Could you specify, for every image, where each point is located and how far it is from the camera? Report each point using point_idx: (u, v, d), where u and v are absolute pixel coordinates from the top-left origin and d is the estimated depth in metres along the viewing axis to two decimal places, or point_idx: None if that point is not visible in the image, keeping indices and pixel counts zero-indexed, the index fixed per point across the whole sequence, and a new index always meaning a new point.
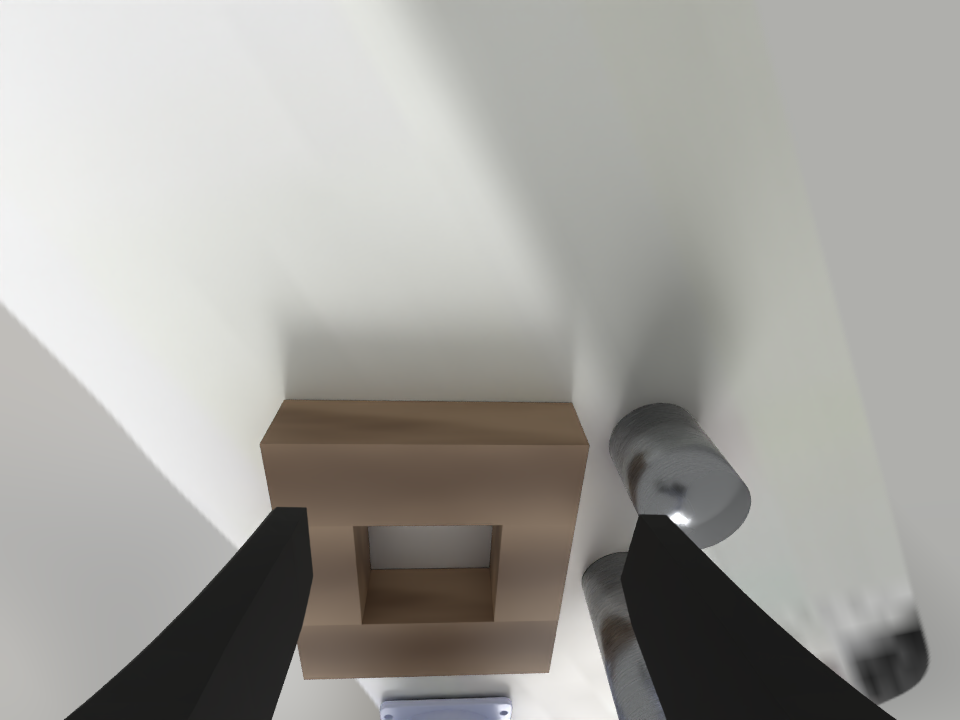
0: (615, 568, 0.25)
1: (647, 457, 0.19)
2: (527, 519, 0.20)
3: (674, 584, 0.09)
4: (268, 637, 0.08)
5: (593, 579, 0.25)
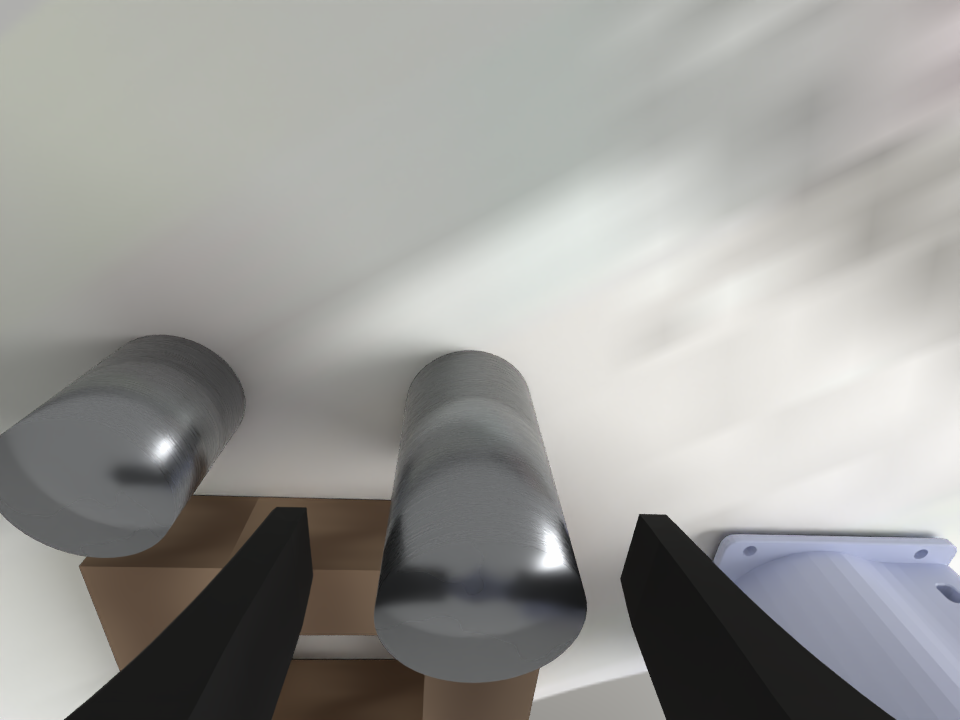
0: None
1: None
2: None
3: (674, 584, 0.09)
4: (267, 637, 0.08)
5: None
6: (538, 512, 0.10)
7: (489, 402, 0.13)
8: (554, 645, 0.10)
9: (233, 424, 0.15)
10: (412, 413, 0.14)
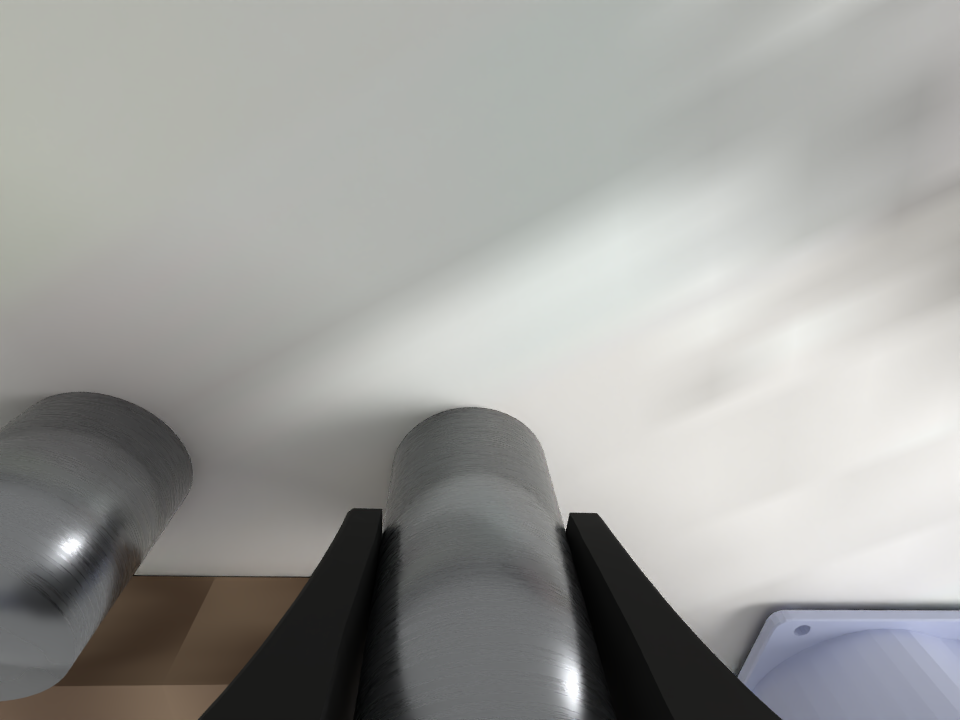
0: None
1: None
2: None
3: (593, 583, 0.09)
4: (359, 637, 0.09)
5: None
6: (573, 690, 0.07)
7: (498, 491, 0.10)
8: None
9: (174, 502, 0.12)
10: (398, 497, 0.10)
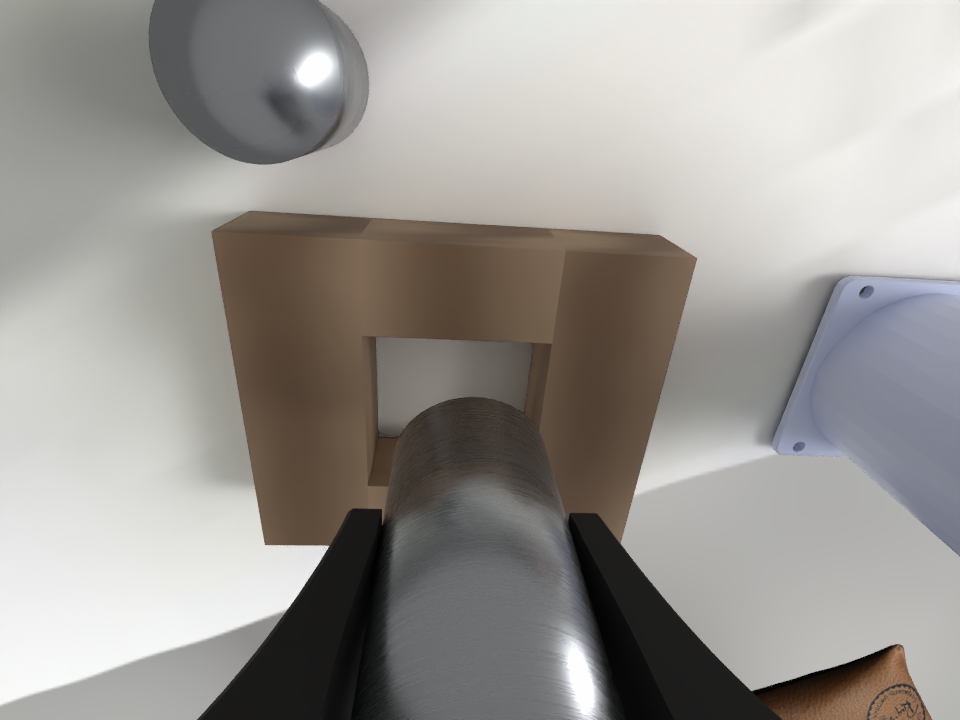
0: None
1: None
2: (350, 305, 0.15)
3: (593, 583, 0.09)
4: (359, 637, 0.09)
5: None
6: (583, 669, 0.07)
7: (505, 477, 0.10)
8: None
9: (363, 97, 0.14)
10: (402, 480, 0.10)
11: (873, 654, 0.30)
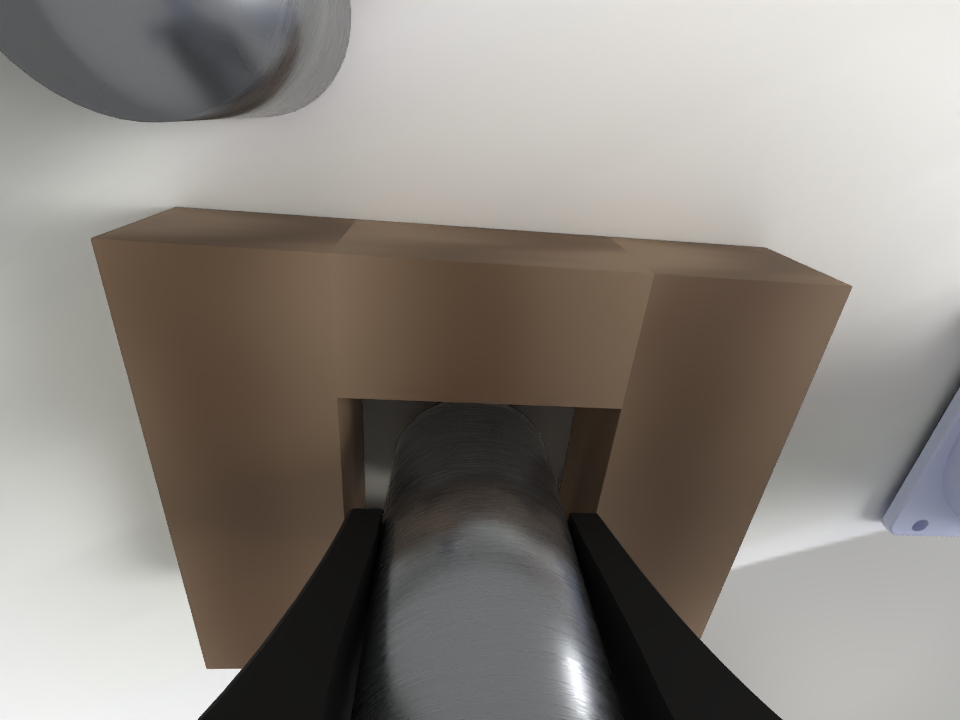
0: None
1: None
2: (318, 354, 0.10)
3: (593, 583, 0.09)
4: (359, 637, 0.09)
5: None
6: (583, 671, 0.07)
7: (505, 477, 0.10)
8: None
9: (340, 29, 0.09)
10: (402, 481, 0.10)
11: None
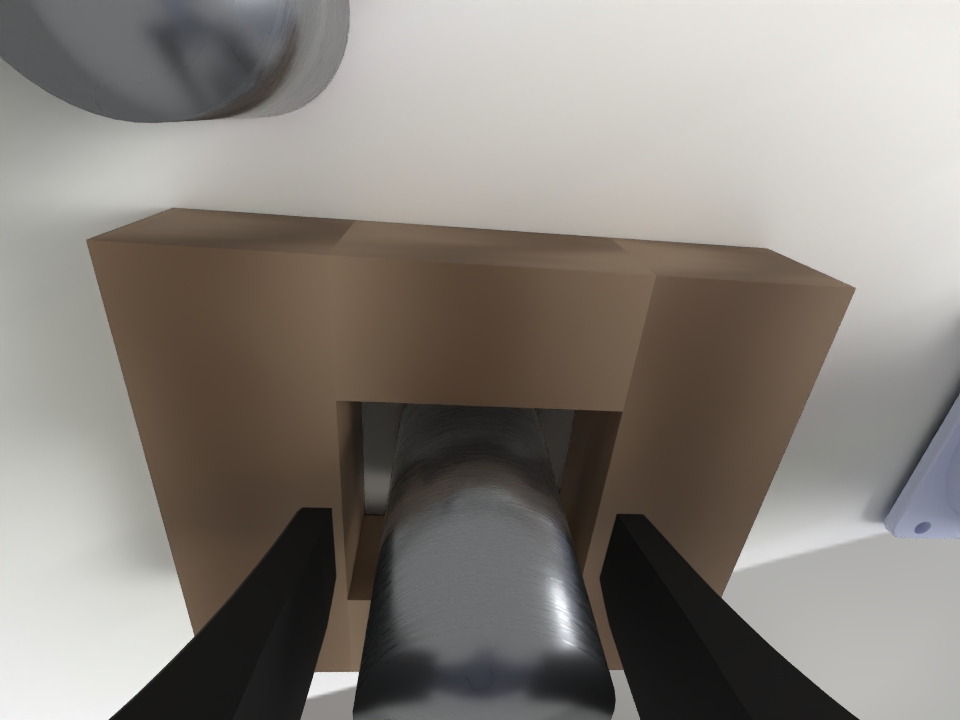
0: None
1: None
2: (316, 356, 0.10)
3: (647, 584, 0.09)
4: (298, 637, 0.08)
5: None
6: (562, 585, 0.08)
7: (500, 437, 0.11)
8: None
9: (338, 28, 0.09)
10: (408, 442, 0.12)
11: None
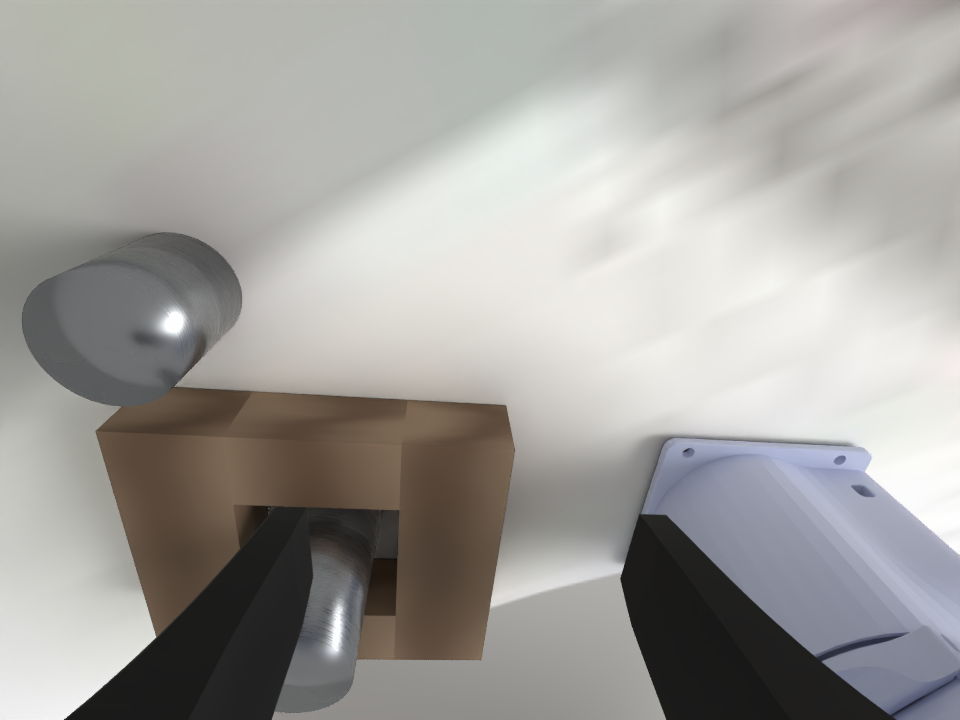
0: None
1: None
2: (220, 483, 0.18)
3: (674, 584, 0.09)
4: (267, 637, 0.08)
5: None
6: (331, 613, 0.16)
7: (331, 523, 0.19)
8: (336, 692, 0.16)
9: (231, 314, 0.17)
10: None
11: None
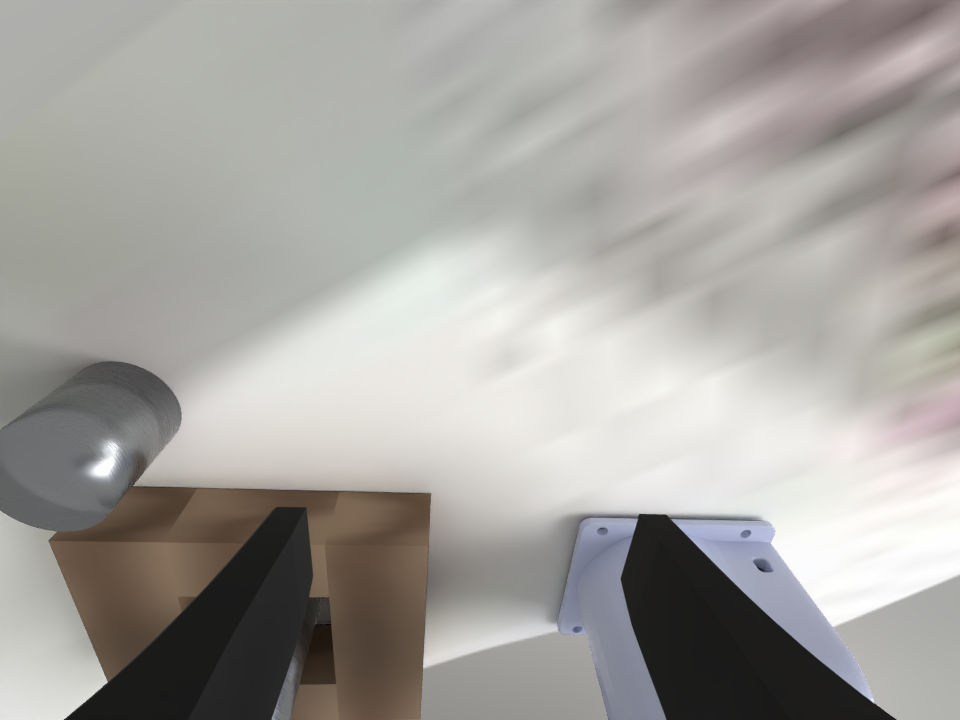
0: None
1: None
2: (164, 579, 0.20)
3: (674, 584, 0.09)
4: (268, 636, 0.08)
5: None
6: None
7: None
8: None
9: (169, 430, 0.19)
10: None
11: None
